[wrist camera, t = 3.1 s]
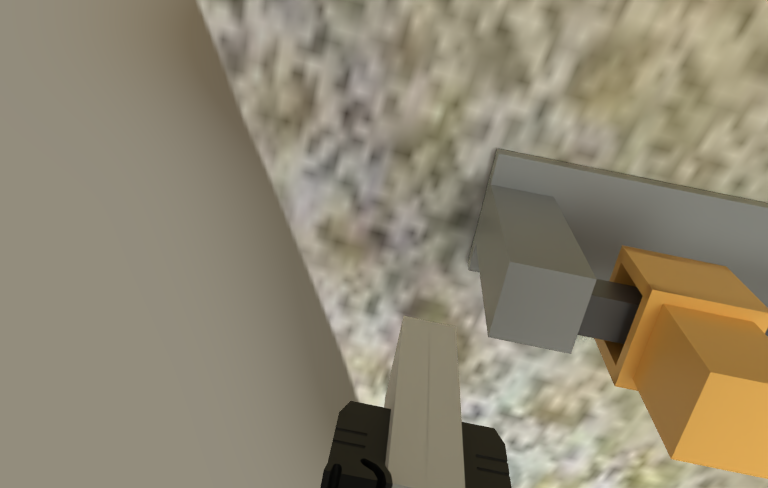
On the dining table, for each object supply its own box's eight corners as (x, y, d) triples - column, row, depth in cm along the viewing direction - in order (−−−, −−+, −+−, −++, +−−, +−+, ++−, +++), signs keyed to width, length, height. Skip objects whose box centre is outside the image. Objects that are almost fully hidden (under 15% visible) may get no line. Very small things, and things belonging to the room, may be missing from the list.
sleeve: (621, 245, 24) (697, 356, 17) (726, 266, 24) (845, 385, 17) (591, 331, 26) (649, 466, 19) (689, 351, 26) (785, 494, 19)
